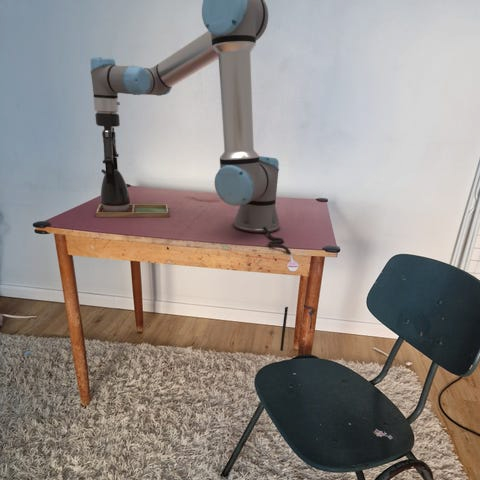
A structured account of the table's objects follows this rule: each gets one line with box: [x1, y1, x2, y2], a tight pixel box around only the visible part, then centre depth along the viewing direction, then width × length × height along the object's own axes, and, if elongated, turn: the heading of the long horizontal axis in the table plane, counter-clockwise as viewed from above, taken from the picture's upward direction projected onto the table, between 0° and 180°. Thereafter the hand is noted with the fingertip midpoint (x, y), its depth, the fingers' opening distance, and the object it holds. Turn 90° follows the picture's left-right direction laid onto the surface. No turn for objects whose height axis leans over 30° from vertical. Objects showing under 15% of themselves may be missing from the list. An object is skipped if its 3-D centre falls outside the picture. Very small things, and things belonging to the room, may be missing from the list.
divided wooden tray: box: [95, 203, 170, 218], centre depth 153 cm, size 13×25×2 cm, turn 100°
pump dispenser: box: [100, 168, 131, 212], centre depth 149 cm, size 10×10×15 cm
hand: (112, 179), depth 147 cm, fingers open, 13 cm apart
